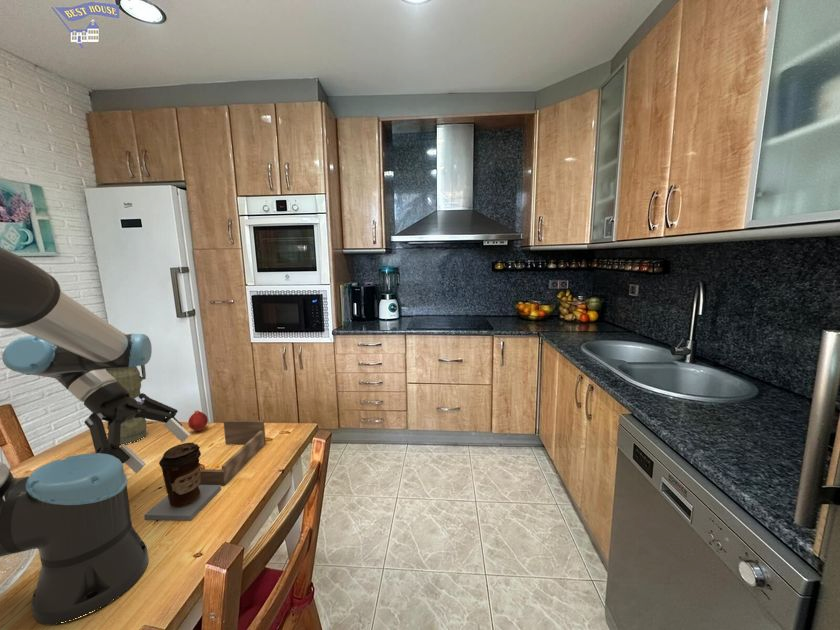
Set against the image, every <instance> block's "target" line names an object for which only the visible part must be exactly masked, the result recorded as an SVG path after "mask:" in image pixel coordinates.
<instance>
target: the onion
mask: <svg viewBox="0 0 840 630" xmlns="http://www.w3.org/2000/svg"><path fill="white" fill-rule="evenodd" d="M208 422H209V421H208V416H207V415H206V414H205V413H203V412H202V411H199V410H198V409H197V410H195V411H194V413H192V414H191V415H190V417H189V419H188V423H187V424H188V427H189V428H190V429H191V430H193V431H195V432H198V431H199V432H201V431H202V430H203V429H204V428H205V427H206V426H207V425H208Z"/></svg>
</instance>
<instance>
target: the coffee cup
mask: <svg viewBox="0 0 840 630" xmlns="http://www.w3.org/2000/svg"><path fill="white" fill-rule="evenodd" d="M200 448H201V447H200V446H199V445H198V444H197V443H194V442H183V443H181V444H177V445H175V446H172V447H170V448H169V449H167V450H166V451H165V452H164V453H163V456H162V457H161V458H160V460H159V462H158V465H159V466H160V467H161V471H162V476H163V482H164V486H165V491H166V494H167V495H168V500H169V503H170V505H171V506H172V507H175V508H177V507H182V506H185V505H188V504H190V503H192V502H194V501H195V500H196V499H197V498H198V497H199V496H200V494H201V493H200V489H199V488H198V486H199V484H200V482H201V480H200V469H202V468H201V466H202V465H201V463H200V457H201V455H202V453H201V450H200Z"/></svg>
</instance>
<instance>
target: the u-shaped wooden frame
mask: <svg viewBox="0 0 840 630" xmlns="http://www.w3.org/2000/svg"><path fill="white" fill-rule="evenodd" d="M223 429H224V430H223V432H224V441H225V445H226V444H232V445H233V444H234V445H237V446H240V445H241V446H242V447H240V448H239V449H238V450H237V452H236V453H234V454H233V455H231V457H230V458H228V459H227V461H226V462H224V464H221V469H215V468H213V469H212V468H207V469H205V468H204V469H203V468H200V480H201V482H200V484H199V485H221V487H223V486H224V487H225V486H226V485H227V484H228V483H229V482H230V481H231V480H232V479H233V478H234V477H235V476H236V474H237V473H239V472H240V471H241V469H243V468H244V466H246V464H247V463H248V462H249V461H250V460H251V459H252V458H253V457H254V456H255V455H256V454H257V453H258V452H259V451H260V450H261V449H262V448H263V447H264V446H265V444H266V431H265V421H264V420H243V419H242V420H237V419H236V420H233V419H230V420H227V419H226V420H223ZM232 445H231V446H232Z"/></svg>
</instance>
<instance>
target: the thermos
mask: <svg viewBox="0 0 840 630" xmlns="http://www.w3.org/2000/svg"><path fill="white" fill-rule="evenodd" d="M145 365H146V364H145ZM145 365H141V366H140V369H141V373H140V370H139V369H138V366H134V367H131V368H128V367H126V368H114V369H105V370H106V371H107V372H108V373H109V374H110V375H111V376H113V377H114V378H115V379H116V382H119V383H120V384H121V385H122V386H123V387H124V388H125V389H126V390H128V394H129V396H130V397H131V398H133V399H135V398H137V397H138V396H139V395H140V394H141V388H142V381H143V380H146V379H147V377H146V376H147V375H146V374H147V373H146V367H145ZM138 411H139V410H138ZM146 434H147V435H148V433H147V419H145V418H141V417H139V418H133V419H131V420H127V421H125V422H124V423H122V424H121V431H120V444H126V443H130V442H134V441H137V440H139V439H141V438H143V437H145V436H146ZM146 437H147V436H146ZM146 437H145V438H146Z"/></svg>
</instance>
